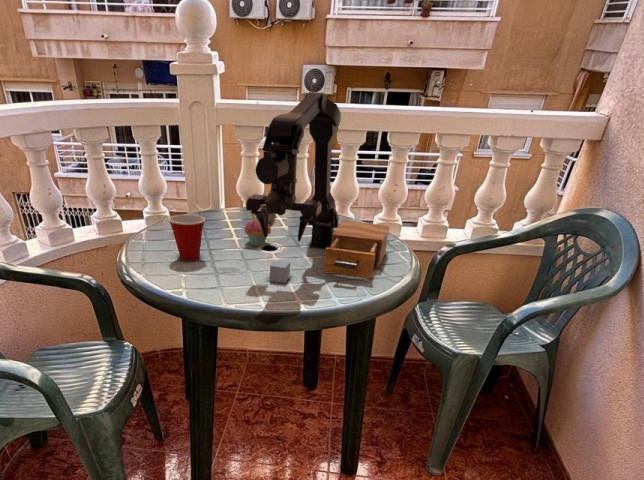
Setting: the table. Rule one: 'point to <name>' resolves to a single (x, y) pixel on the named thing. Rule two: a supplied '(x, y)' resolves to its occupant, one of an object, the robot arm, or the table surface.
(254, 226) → the cupcake
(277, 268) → the block
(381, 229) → the cabinet
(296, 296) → the table surface
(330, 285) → the table surface
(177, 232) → the plastic cup
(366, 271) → the wooden drawer
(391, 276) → the table surface
